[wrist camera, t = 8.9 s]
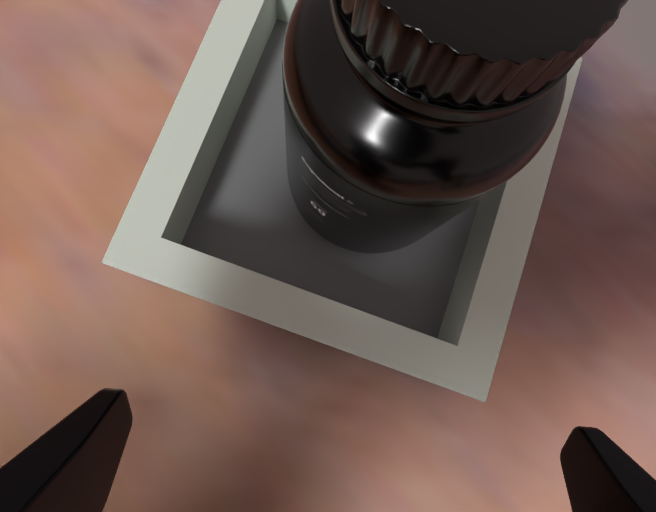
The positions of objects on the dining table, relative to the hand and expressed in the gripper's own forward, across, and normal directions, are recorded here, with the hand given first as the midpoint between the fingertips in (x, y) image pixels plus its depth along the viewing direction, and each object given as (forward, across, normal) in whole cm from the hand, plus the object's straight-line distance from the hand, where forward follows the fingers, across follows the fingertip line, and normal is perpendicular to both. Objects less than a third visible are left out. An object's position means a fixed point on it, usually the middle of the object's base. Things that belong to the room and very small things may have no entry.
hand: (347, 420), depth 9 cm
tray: (+12, 0, 0) cm, 12 cm away
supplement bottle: (+12, -1, 0) cm, 12 cm away
